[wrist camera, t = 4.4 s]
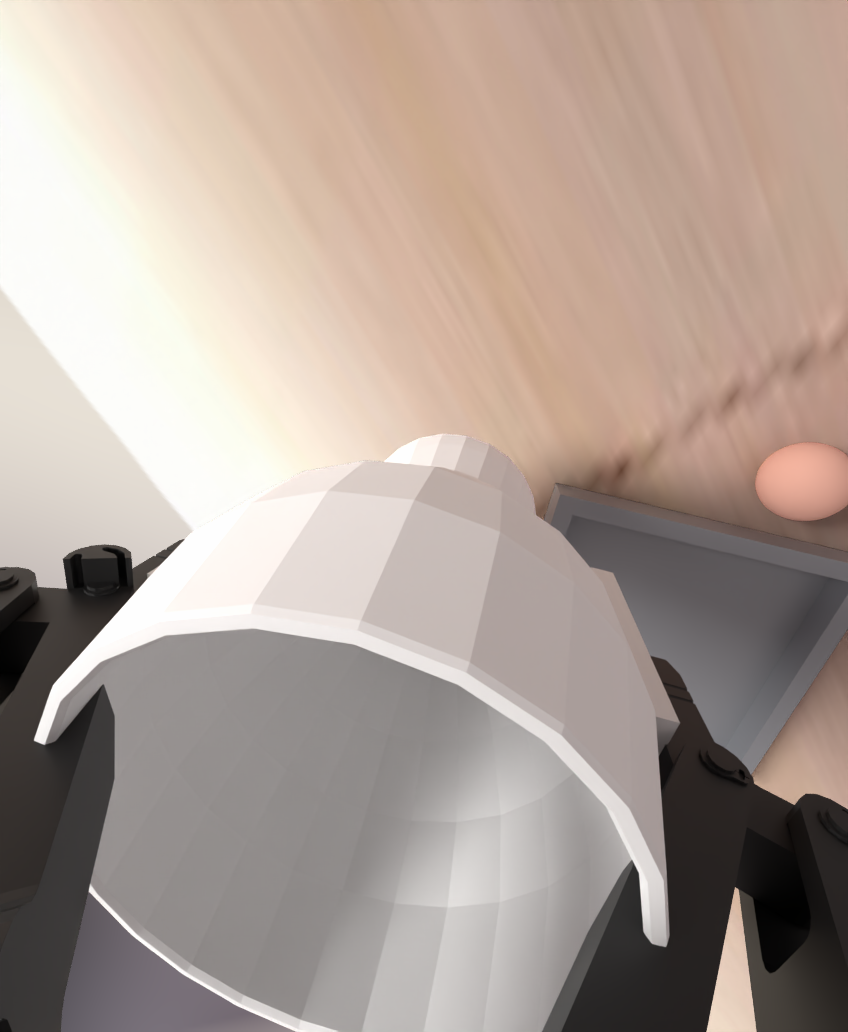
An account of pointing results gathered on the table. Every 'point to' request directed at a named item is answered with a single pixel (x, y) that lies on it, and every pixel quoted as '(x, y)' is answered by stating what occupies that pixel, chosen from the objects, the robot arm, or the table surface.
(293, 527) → the cup
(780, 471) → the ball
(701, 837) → the robot arm
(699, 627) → the tray
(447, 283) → the table surface
